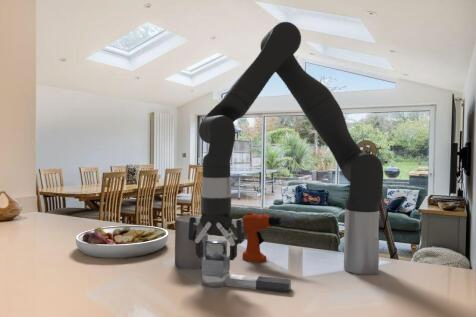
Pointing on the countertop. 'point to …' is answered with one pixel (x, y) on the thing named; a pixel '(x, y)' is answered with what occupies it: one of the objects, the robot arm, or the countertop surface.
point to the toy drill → (258, 234)
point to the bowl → (121, 241)
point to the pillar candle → (187, 244)
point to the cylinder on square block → (216, 258)
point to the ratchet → (248, 282)
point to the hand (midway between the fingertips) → (216, 258)
